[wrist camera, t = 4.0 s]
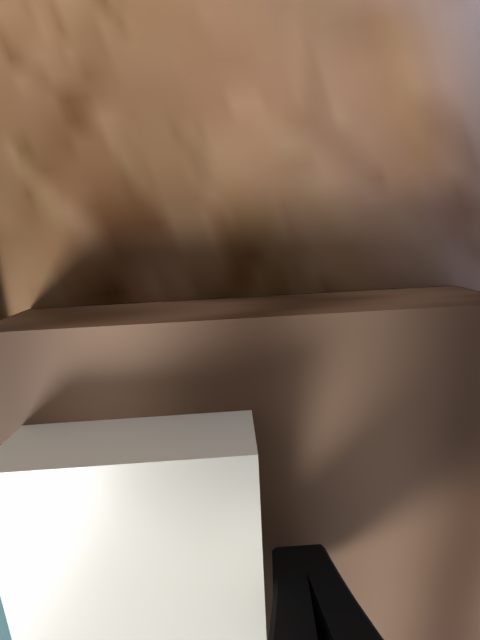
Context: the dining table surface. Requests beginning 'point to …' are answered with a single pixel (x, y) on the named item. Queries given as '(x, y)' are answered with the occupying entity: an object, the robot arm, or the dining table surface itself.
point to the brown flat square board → (302, 423)
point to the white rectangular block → (133, 529)
